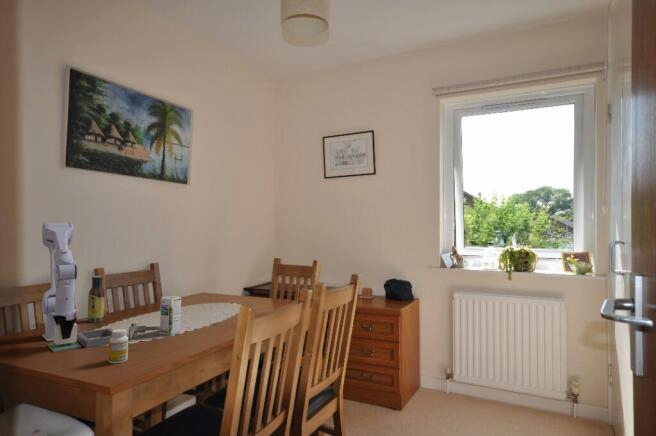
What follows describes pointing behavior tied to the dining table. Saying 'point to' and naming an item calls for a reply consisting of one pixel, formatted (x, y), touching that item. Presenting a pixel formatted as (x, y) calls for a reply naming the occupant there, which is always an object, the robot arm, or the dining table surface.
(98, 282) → the sauce bottle
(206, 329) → the dining table surface
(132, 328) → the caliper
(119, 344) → the supplement bottle
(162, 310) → the syrup box
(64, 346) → the rubber mat
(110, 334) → the grey square frame
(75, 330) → the block
